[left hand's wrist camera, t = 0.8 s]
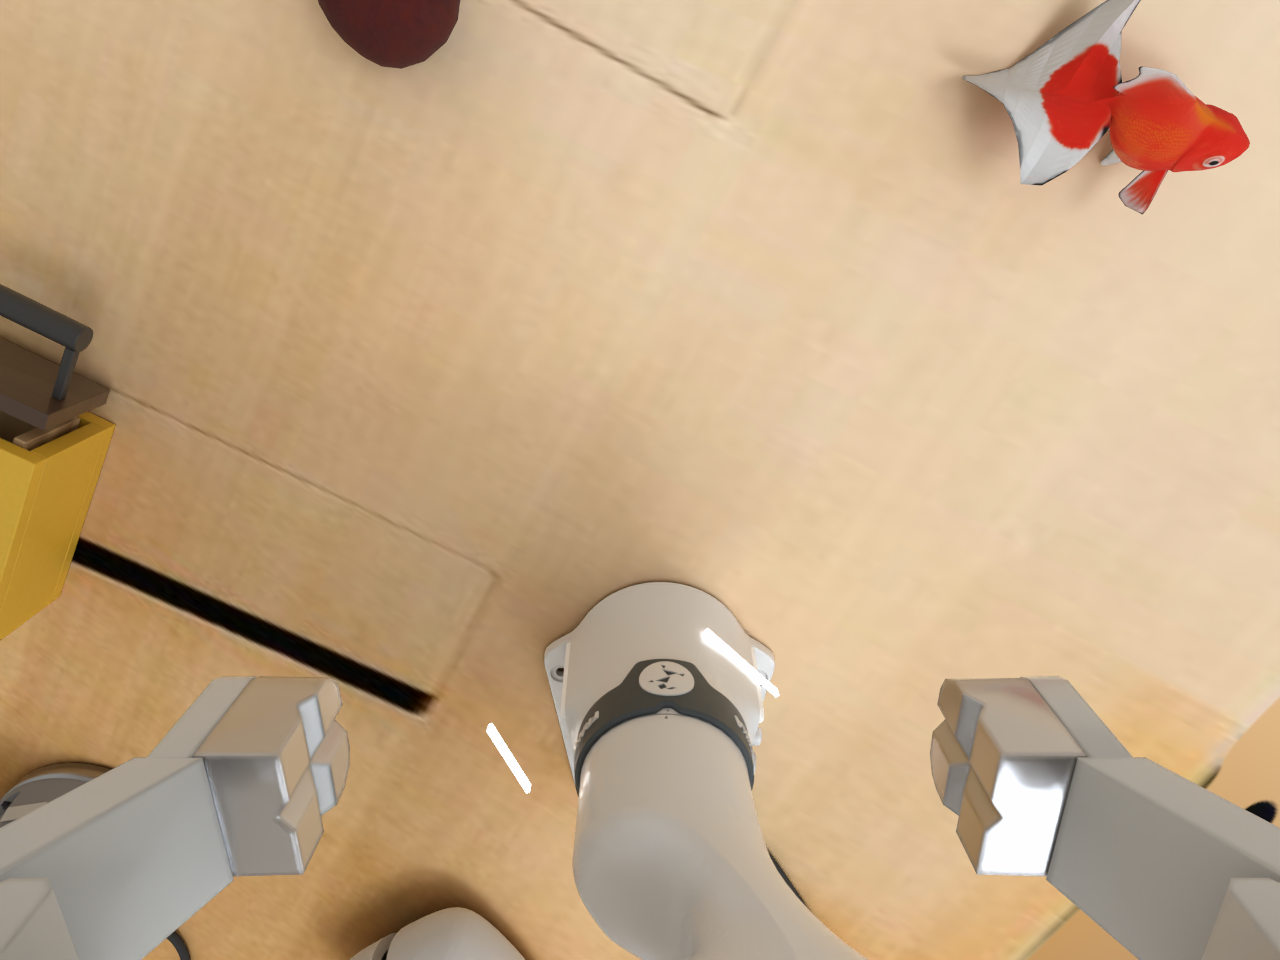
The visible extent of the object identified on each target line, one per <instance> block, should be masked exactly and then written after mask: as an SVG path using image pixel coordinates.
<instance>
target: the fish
mask: <svg viewBox="0 0 1280 960" xmlns="http://www.w3.org/2000/svg"><path fill="white" fill-rule="evenodd" d="M1139 2H1140V0H1106V1H1105V2H1104V3H1102V4H1101V5H1099V6H1098V7H1096V8H1095V9H1093V10H1092V11H1090V12H1089V13H1087V14H1086V15H1084V16H1083V17H1081V18H1080V19H1078V20H1077V21H1075V22H1074V23H1072V24H1071V25H1069V26H1068V27H1066V28H1065V29H1063V30H1062V31H1061V32H1059V33H1058V34H1057V35H1055V36H1054V37H1053V38H1051V39H1050V40H1049V41H1047V42H1046V43H1045V44H1043V45H1042V46H1041V47H1039V48H1038V49H1037V50H1035V51H1034V52H1032V53H1031V54H1029V55H1028V56H1026V57H1025V58H1024V59H1022V60H1021V61H1019V62H1018V63H1016V64H1015V65H1013V66H1012V67H1010V68H1008V69H1004V70H999V71H995V72H991V73H986V74H982V75H967V76H963V79H964V80H966V81H968V82H970V83H972V84H974V85H977V86H979V87H980V88H982V89H983V90H985V91H986V92H988V93H989V94H990V95H992V96H993V97H995V98H996V99H997V100H999V101H1000V102H1002V103H1003V105H1004V107H1005V108H1006V110H1007V112H1008V114H1009V116H1010V118H1011V119H1012V121H1013V125H1014V129H1015V133H1016V137H1017V140H1018V145H1019V158H1020V174H1021V184H1030V185H1043V184H1045V183H1047V182H1049V181H1050V180H1052V179H1054V178H1056V177H1058V176H1059V175H1061V174H1063V173H1065V172H1066V171H1068V170H1069V169H1070V168H1071V167H1073V166H1074V165H1075V164H1076V163H1077V162H1079V161H1080V160H1081V159H1082V158H1083V157H1084V156H1085V155H1086V154H1087V153H1088V152H1089V151H1090V149H1091V148H1092V147H1093V146H1094V145H1095V144H1096V143H1097V142H1098V141H1099V140H1100V138H1101V137H1102V136H1103V135H1104V134H1105V133H1106V132H1107V131H1110V140H1111V144H1112V147H1113V150H1112V151H1111V152H1110V153H1109V154H1108V155H1107V156H1106V157H1105V158H1104V159H1103V160H1102V162H1101V164H1102V165H1110V164H1114V163H1117V162H1121V161H1122V162H1123V163H1124V164H1126V165H1128V166H1129V167H1132V168H1135V169H1138V170H1144V171H1143V172H1141V173H1140V174H1139V175H1138V176H1137V177H1136V178H1135V179H1134V180H1133V181H1132V182H1131V183H1129V184H1128V185H1127V186H1126V187H1125V188H1124V189H1122V190H1121V191H1120V192H1119V198H1120V199H1121V200H1122V202H1123V203H1124V205H1125V206H1127V207H1129V208H1131V209H1133V210H1135V211H1137V212H1139V213H1141V214H1143V213H1144V212H1145V211H1146V210H1147V208H1148V207H1149V205H1150V203H1151V201H1152V200H1153V198H1154V196H1155V194H1156V192H1157V190H1158V188H1159V186H1160V184H1161V182H1162V181H1163V179H1164V177H1165V175H1166V173H1167V171H1168V170H1171V171H1172V172H1181V171H1195V170H1206V169H1211V168H1215V167H1219V166H1222V165H1225V164H1227V163H1228V162H1230V161H1232V160H1234V159H1236V158H1237V157H1239V156H1240V155H1241V154H1242V153H1243V152H1244V151H1245V150H1247V149H1248V147H1249V144H1250V142H1249V139H1248V137H1247V135H1246V134H1245V132H1244V130H1243V128H1242V126H1241V124H1240V122H1239V121H1238V119H1237V117H1236V116H1235V115H1233V114H1231V113H1228V112H1227V111H1225V110H1222V109H1220V108H1218V107H1216V106H1213V105H1205V104H1204V103H1203V102H1202V101H1201V100H1200V99H1198V98H1197V97H1196V96H1194V95H1193V94H1192V93H1191V92H1190V91H1189V89H1188V88H1187V87H1186V86H1185V85H1184V84H1183V82H1182V81H1181V80H1180V79H1179V78H1178V77H1177V76H1176V75H1175V74H1173V73H1170V72H1167V71H1164V70H1161V69H1155V68H1148V67H1139V72H1140V74H1139V76H1138V77H1136V78H1135V79H1132V80H1129V81H1126V82H1123V83H1122V78H1121V71H1120V64H1119V59H1120V51H1121V31H1122V29H1123V27H1124V26H1125V24H1126V23H1127V21H1128V19H1129V18H1130V16H1131V15H1132V13H1133V11H1134V10H1135V8H1136V7H1137V5H1138V3H1139ZM1119 92H1121V93H1119Z"/></svg>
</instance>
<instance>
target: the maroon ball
mask: <svg viewBox="0 0 1280 960" xmlns="http://www.w3.org/2000/svg"><path fill="white" fill-rule="evenodd" d="M318 2H319V5H320V7H321V8H322V10H323V12H324V14H325V15H326V17H327V19H328V21H329V22H330V24H331V26H332V27H333V28H334V30H335V31H336V32H337V33H338V34H339V35H340V37H341V38H342V39H343V40H344V41H345V42H346V43H347V44H348V45H349V46H351V47H352V48H353V49H354V50H355V51H357V52H358V53H359V54H360V55H362V56H363V57H365V58H366V59H368V60H370V61H372V62H374V63H376V64H378V65H380V66H384V67H393V68H404V67H407V66H411V65H414V64H417V63H420V62H423V61H425V60H426V59H428V58H429V57H430V56H431V55H432V54H433V53H434V52H435V51H437V50H438V49H439V48H440V47H441V46H442V45H443V44H445V43H446V42H447V40H448V38H449V36H450V34H451V32H452V30H453V28H454V26H455V24H456V22H457V20H458V13H459V4H460V0H318Z"/></svg>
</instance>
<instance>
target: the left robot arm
mask: <svg viewBox="0 0 1280 960" xmlns="http://www.w3.org/2000/svg"><path fill="white" fill-rule="evenodd" d="M544 664H545V668H546V672H547V676H548V680H549V684H550V688H551V692H552V696H553V700H554V704H555V708H556V712H557V716H558V720H559V724H560V728H561V732H562V736H563V740H564V744H565V748H566V752H567V756H568V760H569V764H570V768H571V772H572V775H573V779H574V783H575V786H576V790H577V794H578V797H579V798H578V809H577V819H576V829H575V840H574V850H573V862H572V866H573V874H574V880H575V884H576V887H577V890H578V893H579V895H580V897H581V899H582V901H583V903H584V905H585V907H586V908H587V910H588V912H589V913H590V915H591V916H592V918H593V919H594V920H595V922H596V923H597V925H598V926H599V927H600V929H601V930H602V931H603V932H604V933H605V934H606V935H607V936H608V937H609V938H610V939H611V940H612V941H613V942H615V943H616V944H617V945H618V946H620V947H621V948H623V949H625V950H626V951H628V952H629V953H631V954H633V955H634V956H636V957H638V958H640V959H641V960H869V959H867V958H865V957H864V956H862V955H861V954H859V953H858V952H857V951H855V950H854V949H853V948H851V947H850V946H849V945H847V944H846V943H845V942H843V941H842V940H841V939H840V938H839V937H837V936H836V935H835V934H834V933H833V932H831V931H830V930H829V929H828V928H827V927H826V926H825V925H824V924H823V923H822V922H821V921H820V920H819V919H817V918H816V917H815V916H814V915H813V914H812V913H811V912H810V911H809V909H808V908H807V906H806V905H805V903H804V902H803V900H802V899H801V897H800V896H799V894H798V893H797V891H796V890H795V888H794V887H793V885H792V884H791V882H790V881H789V879H788V878H787V877H786V875H785V874H784V872H783V871H782V869H781V868H780V866H779V865H778V864H777V862H776V861H775V859H774V858H773V857H772V855H771V854H770V853H769V852H768V850H767V848H766V844H765V841H764V838H763V834H762V831H761V828H760V824H759V820H758V817H757V813H756V809H755V805H754V800H753V796H752V788H753V783H754V773H755V768H756V756H755V752H753V750H752V745H753V746H755V745H756V746H759V745H760V743H761V738H762V730H761V728H760V727H758V724H759V723H761V722H763V720H764V709H763V700H764V697H765V695H766V692H767V690H768V691H769V692H770V693H772V694H773V695H774V696H775V697H777V696H779V693H778V689H777V688H776V687H774V686H773V685H772V684H771V683H770V680H771V677H772V674H773V672H774V668H775V661H774V655H773V653H772V652H771V651H770V650H769V649H768V648H767V647H765V646H764V645H763V644H761V643H759V642H758V641H756V640H755V639H753V638H751V637H750V636H748V635H747V634H746V632H745V631H744V630H743V629H742V627H741V626H740V624H739V623H738V621H737V620H736V618H735V617H734V615H733V614H732V613H731V612H730V611H729V610H728V608H726V607H725V606H724V605H723V604H722V603H721V602H720V601H718V600H717V599H716V598H714V597H713V596H711V595H709V594H707V593H705V592H703V591H701V590H699V589H696V588H694V587H691V586H687V585H683V584H678V583H671V582H649V583H642V584H637V585H633V586H630V587H627V588H624V589H621V590H619V591H617V592H615V593H613V594H611V595H609V596H608V597H606V598H605V599H603V600H602V601H600V602H599V603H598V604H597V605H595V606H594V607H593V608H592V609H591V610H590V611H589V613H588V614H587V615H586V616H585V617H584V619H583V620H582V621H581V623H580V624H579V625H578V626H577V627H576V628H575V629H574V630H573V631H572V632H570V633H568V634H566V635H564V636H563V637H561V638H559V639H557V640H555V641H554V642H552V643H551V644H550V645H549V646H548V647H547V648H546V649H545V652H544ZM558 668H564V671H559V670H558ZM341 706H342V700H341V695H340V690H339V685H338V683H337V682H336V681H334V680H333V679H332V678H309V677H263V676H260V677H254V676H222V677H220V678H217V679H214V680H212V681H211V682H210V684H209V685H208V686H207V687H206V688H205V689H204V691H203V692H202V693H201V694H200V695H199V697H198V698H197V699H196V700H195V701H194V702H193V704H192V705H191V706H190V707H189V708H188V709H187V711H186V712H185V713H184V714H183V715H182V717H181V718H180V719H179V720H178V721H177V722H176V724H175V725H174V726H173V727H172V728H171V730H170V731H169V732H168V733H167V734H166V735H165V737H164V738H163V739H162V740H161V741H160V742H159V744H158V745H157V746H156V747H155V748H154V750H153V751H152V752H151V753H150V754H149V755H148V757H145V758H133V759H131V760H129V761H127V762H125V763H123V764H121V765H119V766H118V767H116V768H114V769H112V770H110V771H108V772H106V773H104V774H102V775H100V776H98V777H97V778H95V779H93V780H91V781H89V782H87V783H85V784H83V785H81V786H79V787H77V788H75V789H74V790H72V791H70V792H68V793H66V794H64V795H62V796H60V797H58V798H56V799H54V800H53V801H51V802H49V803H47V804H45V805H43V806H41V807H39V808H37V809H35V810H33V811H32V812H30V813H28V814H26V815H24V816H22V817H20V818H18V819H16V820H14V821H12V822H11V823H9V824H7V825H5V826H3V827H1V828H0V960H141V959H143V958H144V957H145V956H146V955H147V954H148V953H150V952H151V951H152V950H153V949H154V948H155V947H157V946H158V945H159V944H160V943H161V942H162V941H163V940H165V939H166V938H167V937H168V936H169V935H170V934H172V933H173V932H174V931H175V930H176V929H177V928H179V927H180V926H181V925H182V924H183V923H184V922H186V921H187V920H188V919H189V918H190V917H191V916H192V915H194V914H195V913H196V912H197V911H198V910H199V909H201V908H202V907H203V906H204V905H205V904H206V903H208V902H209V901H210V900H211V899H212V898H213V897H215V896H216V895H217V894H218V893H219V892H220V891H221V890H223V889H224V888H225V887H226V886H227V885H228V884H230V883H231V882H232V881H233V876H261V875H295V874H303V873H304V871H305V869H306V867H307V865H308V863H309V861H310V859H311V857H312V855H313V853H314V851H315V849H316V847H317V845H318V843H319V841H320V838H321V836H322V834H323V832H324V830H323V824H322V819H321V816H322V815H323V814H324V813H326V812H327V811H328V810H330V809H331V808H333V807H334V806H335V805H337V803H338V801H339V798H340V796H341V794H342V792H343V790H344V787H345V783H346V778H347V774H348V769H349V750H350V747H349V740H348V734H347V731H346V730H345V729H344V728H343V727H342V726H341V725H340V724H339V723H338V722H337V721H336V720H335V717H336V715H337V714H338V712H339V710H340V708H341ZM938 706H939V708H940V710H941V712H942V714H943V715H944V717H945V720H944V721H943V722H942V723H941V724H940V725H939V726H938V727H937V728H936V729H935V730H934V731H933V734H932V742H931V750H930V757H931V769H932V776H933V779H934V783H935V787H936V790H937V792H938V794H939V796H940V799H941V801H942V803H943V805H945V806H946V807H947V808H949V809H950V810H952V811H953V812H954V813H956V814H957V815H958V816H959V819H958V824H957V830H956V832H957V834H958V836H959V838H960V841H961V843H962V845H963V847H964V849H965V851H966V853H967V855H968V857H969V859H970V861H971V863H972V865H973V867H974V869H975V871H976V873H977V874H983V875H1018V876H1047V879H1046V880H1047V881H1048V882H1050V883H1051V884H1052V885H1053V886H1054V887H1055V888H1057V889H1058V890H1059V891H1060V892H1061V893H1062V894H1064V895H1065V896H1066V897H1067V898H1068V899H1069V900H1070V901H1072V902H1073V903H1074V904H1075V905H1076V906H1077V907H1079V908H1080V909H1081V910H1082V911H1083V912H1084V913H1086V914H1087V915H1088V916H1089V917H1090V918H1091V919H1092V920H1094V921H1095V922H1096V923H1097V924H1098V925H1099V926H1101V927H1102V928H1103V929H1104V930H1105V931H1106V932H1108V933H1109V934H1110V935H1111V936H1112V937H1113V938H1114V939H1116V940H1117V941H1118V942H1119V943H1120V944H1121V945H1123V946H1124V947H1125V948H1126V949H1127V950H1128V951H1130V952H1131V953H1132V954H1133V955H1134V956H1135V957H1137V958H1138V959H1139V960H1280V828H1279V827H1277V826H1275V825H1273V824H1271V823H1269V822H1267V821H1265V820H1263V819H1262V818H1260V817H1258V816H1256V815H1254V814H1252V813H1250V812H1248V811H1246V810H1244V809H1242V808H1241V807H1239V806H1237V805H1235V804H1233V803H1231V802H1229V801H1227V800H1225V799H1223V798H1221V797H1220V796H1218V795H1216V794H1214V793H1212V792H1210V791H1208V790H1206V789H1204V788H1202V787H1201V786H1199V785H1197V784H1195V783H1193V782H1191V781H1189V780H1187V779H1185V778H1183V777H1181V776H1180V775H1178V774H1176V773H1174V772H1172V771H1170V770H1168V769H1166V768H1164V767H1162V766H1161V765H1159V764H1157V763H1155V762H1153V761H1151V760H1149V759H1147V758H1135V757H1132V755H1131V754H1130V753H1129V752H1128V751H1127V750H1126V748H1125V747H1124V746H1123V745H1122V744H1121V743H1120V741H1119V740H1118V739H1117V738H1116V737H1115V735H1114V734H1113V733H1112V732H1111V731H1110V730H1109V728H1108V727H1107V726H1106V725H1105V724H1104V723H1103V721H1102V720H1101V719H1100V718H1099V717H1098V715H1097V714H1096V713H1095V712H1094V711H1093V710H1092V708H1091V707H1090V706H1089V705H1088V704H1087V703H1086V701H1085V700H1084V699H1083V698H1082V697H1081V695H1080V694H1079V693H1078V692H1077V691H1076V690H1075V688H1074V687H1073V686H1072V685H1071V684H1070V682H1069V681H1068V680H1066V679H1064V678H1062V677H1060V676H1037V677H1020V678H976V679H945V681H944V682H943V684H942V686H941V688H940V693H939V699H938ZM487 733H488V734H489V736H490V737H491V739H492V741H493V742H494V744H495V745H496V747H497V748H498V750H499V751H500V753H501V755H502V756H503V758H504V759H505V761H506V762H507V764H508V765H509V767H510V769H511V770H512V772H513V773H514V775H515V776H516V778H517V780H518V781H519V783H520V784H521V786H522V787H523V789H524V790H525V792H526V793H528V792H530V788H531V784H530V782H529V780H528V779H527V777H526V776H525V774H524V773H523V771H522V769H521V768H520V766H519V765H518V763H517V762H516V760H515V758H514V757H513V755H512V754H511V752H510V751H509V749H508V747H507V746H506V744H505V743H504V741H503V739H502V738H501V736H500V735H499V733H498V732H497V730H496V728H495V727H494V725H493V724H492V723H491V724H489V725H488V728H487Z"/></svg>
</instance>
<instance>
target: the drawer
mask: <svg viewBox="0 0 1280 960" xmlns="http://www.w3.org/2000/svg"><path fill="white" fill-rule="evenodd" d="M0 315H1V316H3V317H5V318H7V319H9V320H11V321H13V322H15V323H17V324H19V325H21V326H24V327H26V328H28V329H30V330H32V331H34V332H36V333H38V334H40V335H42V336H44V337H46V338H48V339H51V340H53V341H55V342H57V343H59V344H61V345H63V346H65V347H66V348H65V351H64V354H63V358H62V361H61V365H60V366H59V365H57V364H55V363H53V362H51V361H49V360H47V359H45V358H42V357H40V356H38V355H36V354H34V353H32V352H30V351H28V350H26V349H24V348H21V347H19V346H17V345H15V344H13V343H11V342H9V341H7V340H5V339H3V338H0V438H2V439H4V440H6V441H8V442H10V443H13V444H15V445H17V446H19V447H21V448H24V449H26V450H28V451H31V450H33V449H35V448H38V447H40V446H42V445H44V444H46V443H48V442H51V441H53V440H55V439H57V438H59V437H61V436H63V435H66V434H68V433H70V432H72V431H74V430H76V429H78V426H79V423H80V420H81V418H79V417H77V416H79V415H81V414H83V413H85V412H88V411H90V410H92V409H94V408H97V407H99V406H101V405H104V404H105V403H106V401H107V397H108V394H109V391H110V389H108V388H105V387H103V386H101V385H99V384H97V383H95V382H93V381H91V380H89V379H87V378H84V377H82V376H80V375H78V374H76V373H74V368H75V365H76V362H77V358H78V355H79V352H81V351H83V350H84V349H85V348H86V347H87V346H88V345H89V344H90V342H91V340H92V337H93V330H92V329H91V328H89V327H87V326H85V325H83V324H81V323H79V322H77V321H75V320H73V319H71V318H69V317H67V316H65V315H63V314H61V313H59V312H56V311H54V310H52V309H50V308H48V307H46V306H44V305H42V304H40V303H38V302H36V301H34V300H32V299H30V298H28V297H26V296H24V295H22V294H20V293H18V292H15V291H13V290H11V289H9V288H7V287H5V286H3V285H1V284H0Z"/></svg>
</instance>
